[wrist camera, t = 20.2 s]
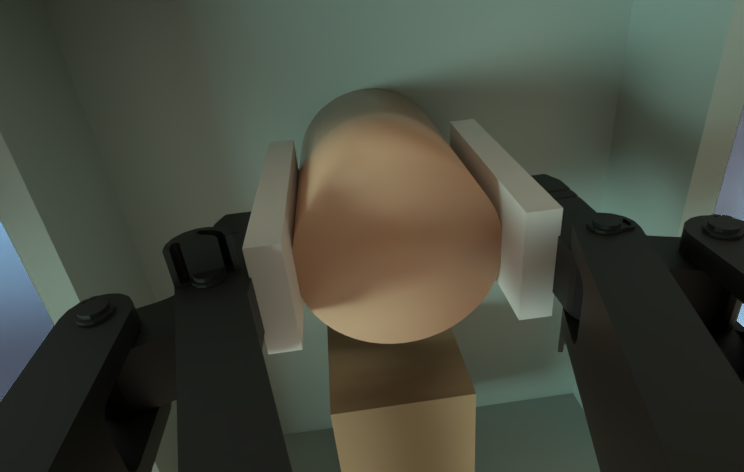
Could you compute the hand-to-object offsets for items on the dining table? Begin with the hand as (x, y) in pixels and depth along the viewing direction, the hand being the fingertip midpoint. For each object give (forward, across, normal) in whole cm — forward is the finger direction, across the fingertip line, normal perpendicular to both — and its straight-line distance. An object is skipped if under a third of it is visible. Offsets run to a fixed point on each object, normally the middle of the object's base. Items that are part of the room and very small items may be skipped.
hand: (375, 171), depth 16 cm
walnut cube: (+2, 0, -10) cm, 10 cm away
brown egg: (+2, 0, 0) cm, 2 cm away
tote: (+3, 0, -4) cm, 5 cm away
